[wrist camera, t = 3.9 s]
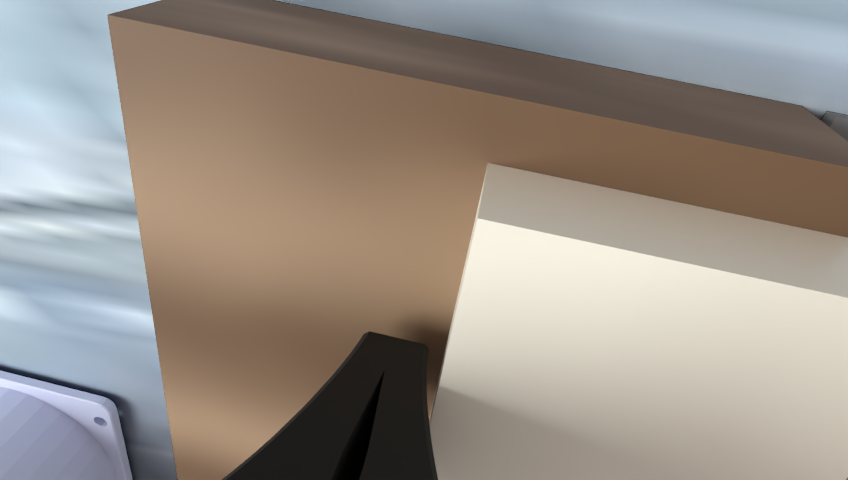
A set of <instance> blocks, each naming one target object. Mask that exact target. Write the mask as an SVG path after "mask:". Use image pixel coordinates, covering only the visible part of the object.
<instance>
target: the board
mask: <svg viewBox="0 0 848 480" xmlns="http://www.w3.org/2000/svg"><path fill="white" fill-rule="evenodd" d="M107 16H108V22H109V29H110V36H111V42H112V49H113V56H114V62H115V69H116V75H117V82H118V89H119V95H120V102H121V109H122V115H123V122H124V129H125V135H126V142H127V148H128V155H129V162H130V168H131V175H132V182H133V188H134V195H135V201H136V208H137V215H138V221H139V228H140V235H141V241H142V248H143V254H144V261H145V268H146V274H147V281H148V288H149V294H150V301H151V308H152V314H153V321H154V327H155V334H156V341H157V347H158V354H159V361H160V367H161V374H162V380H163V387H164V394H165V400H166V407H167V414H168V420H169V427H170V433H171V440H172V447H173V453H174V460H175V467H176V473H177V480H222V479H223V478H224V477H226V476H227V475H228V474H229V473H231V472H232V471H233V470H234V469H236V468H237V467H238V466H239V465H240V464H242V463H243V462H244V461H245V460H246V459H248V458H249V457H250V456H251V455H252V454H254V453H255V452H256V451H257V450H258V449H259V448H260V447H262V446H263V445H264V444H265V443H266V442H267V441H268V440H269V439H270V438H272V437H273V436H274V435H275V434H276V433H277V432H278V431H279V430H280V429H281V428H282V427H283V426H284V425H285V424H286V423H287V422H288V421H289V420H290V419H291V418H292V417H293V416H294V415H295V414H296V413H298V412H299V411H300V410H301V409H302V408H303V407H304V406H305V405H306V404H307V402H308V401H309V400H310V399H311V398H312V397H313V396H314V395H315V394H316V393H317V392H318V391H319V389H320V388H321V387H322V386H323V385H324V384H325V383H326V382H327V381H328V380H329V378H330V377H331V376H332V375H333V374H334V373H335V371H336V370H337V369H338V368H339V367H340V366H341V364H342V363H343V362H344V361H345V359H346V358H347V357H348V356H349V354H350V353H351V352H352V350H353V349H354V348H355V346H356V345H357V343H358V342H359V341H360V339H361V337H362V336H363V334H365V333H367V332H369V331H371V332H375V333H379V334H384V335H388V336H392V337H396V338H400V339H405V340H409V341H413V342H417V343H422V344H425V345H426V346H427V348H428V349H429V354H428V360H427V378H426V384H427V405H428V416H429V419H430V414H431V410H432V405H433V401H434V397H435V392H436V388H437V384H438V379H439V375H440V370H441V366H442V362H443V357H444V353H445V349H446V344H447V340H448V335H449V331H450V327H451V322H452V318H453V313H454V309H455V305H456V300H457V296H458V292H459V287H460V283H461V278H462V274H463V270H464V265H465V261H466V257H467V252H468V248H469V243H470V239H471V235H472V230H473V226H474V222H475V217H476V213H477V208H478V204H479V200H480V195H481V191H482V187H483V182H484V178H485V173H486V169H487V165H488V163H492V164H496V165H501V166H506V167H511V168H516V169H521V170H525V171H530V172H535V173H540V174H545V175H549V176H554V177H559V178H564V179H569V180H573V181H578V182H583V183H588V184H593V185H597V186H602V187H607V188H612V189H617V190H622V191H626V192H631V193H636V194H641V195H646V196H650V197H655V198H660V199H665V200H670V201H674V202H679V203H684V204H689V205H694V206H698V207H703V208H708V209H713V210H718V211H722V212H727V213H732V214H737V215H742V216H746V217H751V218H756V219H761V220H766V221H770V222H775V223H780V224H785V225H790V226H794V227H799V228H804V229H809V230H814V231H818V232H823V233H828V234H833V235H838V236H842V237H847V238H848V141H846V140H845V139H844V138H843V137H841V136H840V135H839V134H837V133H836V132H835V131H834V130H832V129H831V128H830V127H828V126H827V125H826V124H825V123H823V122H822V121H821V120H819V119H818V118H817V117H816V116H814V115H813V114H812V113H810V112H809V111H808V110H807V109H805V108H804V107H803V106H799V105H794V104H789V103H784V102H779V101H774V100H769V99H764V98H759V97H754V96H749V95H744V94H739V93H734V92H729V91H724V90H719V89H714V88H709V87H704V86H699V85H694V84H689V83H684V82H679V81H674V80H669V79H664V78H659V77H654V76H649V75H644V74H639V73H634V72H629V71H624V70H619V69H614V68H609V67H604V66H599V65H594V64H589V63H584V62H579V61H574V60H569V59H564V58H559V57H554V56H549V55H544V54H539V53H534V52H529V51H524V50H519V49H514V48H509V47H504V46H499V45H494V44H489V43H484V42H479V41H474V40H469V39H464V38H459V37H454V36H449V35H444V34H439V33H434V32H429V31H424V30H419V29H414V28H409V27H404V26H399V25H394V24H389V23H384V22H379V21H374V20H369V19H364V18H359V17H354V16H349V15H344V14H339V13H334V12H329V11H324V10H319V9H314V8H309V7H304V6H299V5H294V4H289V3H284V2H279V1H274V0H161V1H157V2H154V3H150V4H146V5H142V6H139V7H135V8H131V9H127V10H124V11H120V12H116V13H112V14H109V15H107Z"/></svg>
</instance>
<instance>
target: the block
mask: <svg viewBox="0 0 848 480" xmlns="http://www.w3.org/2000/svg"><path fill="white" fill-rule="evenodd" d="M429 424H430V433H431V441H432V448H433V454H434V460H435V465H436V471H437V476H438V480H846V479H847V478H848V238H847V237H842V236H838V235H833V234H828V233H823V232H818V231H814V230H809V229H804V228H799V227H794V226H790V225H785V224H780V223H775V222H770V221H766V220H761V219H756V218H751V217H746V216H742V215H737V214H732V213H727V212H722V211H718V210H713V209H708V208H703V207H698V206H694V205H689V204H684V203H679V202H674V201H670V200H665V199H660V198H655V197H650V196H646V195H641V194H636V193H631V192H626V191H622V190H617V189H612V188H607V187H602V186H597V185H593V184H588V183H583V182H578V181H573V180H569V179H564V178H559V177H554V176H549V175H545V174H540V173H535V172H530V171H525V170H521V169H516V168H511V167H506V166H501V165H496V164H492V163H488V165H487V169H486V173H485V178H484V182H483V187H482V191H481V195H480V200H479V204H478V208H477V213H476V217H475V222H474V226H473V230H472V235H471V239H470V243H469V248H468V252H467V257H466V261H465V265H464V270H463V274H462V278H461V283H460V287H459V292H458V296H457V300H456V305H455V309H454V313H453V318H452V322H451V327H450V331H449V335H448V340H447V344H446V349H445V353H444V357H443V362H442V366H441V370H440V375H439V379H438V384H437V388H436V392H435V397H434V401H433V405H432V410H431V414H430V419H429Z"/></svg>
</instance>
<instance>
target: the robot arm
mask: <svg viewBox="0 0 848 480" xmlns="http://www.w3.org/2000/svg"><path fill="white" fill-rule="evenodd" d="M428 354H429V349H428V348H427V346H426V345H425V344H422V343H417V342H413V341H409V340H405V339H400V338H396V337H392V336H388V335H384V334H379V333H375V332H371V331H369V332H367V333H365V334H363V336H362V337H361V339H360V341H359V342H358V343H357V345H356V346H355V348H354V349H353V350H352V352H351V353H350V354H349V356H348V357H347V358H346V359H345V361H344V362H343V363H342V364H341V366H340V367H339V368H338V369H337V370H336V371H335V373H334V374H333V375H332V376H331V377H330V378H329V380H328V381H327V382H326V383H325V384H324V385H323V386H322V387H321V388H320V389H319V391H318V392H317V393H316V394H315V395H314V396H313V397H312V398H311V399H310V400H309V401H308V402H307V404H306V405H305V406H304V407H303V408H302V409H301V410H300V411H299V412H298V413H296V414H295V415H294V416H293V417H292V418H291V419H290V420H289V421H288V422H287V423H286V424H285V425H284V426H283V427H282V428H281V429H280V430H279V431H278V432H277V433H276V434H275V435H274V436H273V437H272V438H270V439H269V440H268V441H267V442H266V443H265V444H264V445H263V446H262V447H260V448H259V449H258V450H257V451H256V452H255V453H254V454H252V455H251V456H250V457H249V458H248V459H246V460H245V461H244V462H243V463H242V464H240V465H239V466H238V467H237V468H236V469H234V470H233V471H232V472H231V473H229V474H228V475H227V476H226V477H224V478H223V479H222V480H438V476H437V471H436V465H435V460H434V454H433V448H432V441H431V433H430V424H429V416H428V405H427V384H426V378H427V360H428ZM0 480H133V478H132V474H131V470H130V465H129V461H128V456H127V452H126V447H125V443H124V438H123V434H122V429H121V425H120V420H119V416H118V412H117V407H116V405H115V404H114V403H113V402H112V401H111V400H110V399H108V398H106V397H103V396H99V395H95V394H91V393H87V392H83V391H80V390H76V389H72V388H68V387H64V386H60V385H56V384H52V383H48V382H44V381H40V380H36V379H32V378H28V377H24V376H21V375H17V374H13V373H9V372H5V371H1V370H0Z"/></svg>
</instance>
